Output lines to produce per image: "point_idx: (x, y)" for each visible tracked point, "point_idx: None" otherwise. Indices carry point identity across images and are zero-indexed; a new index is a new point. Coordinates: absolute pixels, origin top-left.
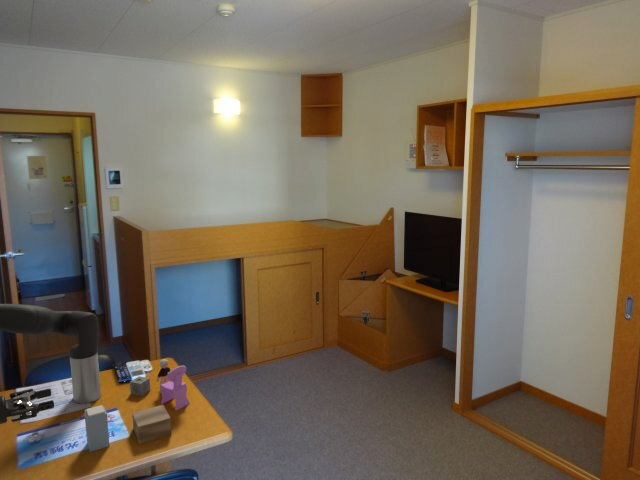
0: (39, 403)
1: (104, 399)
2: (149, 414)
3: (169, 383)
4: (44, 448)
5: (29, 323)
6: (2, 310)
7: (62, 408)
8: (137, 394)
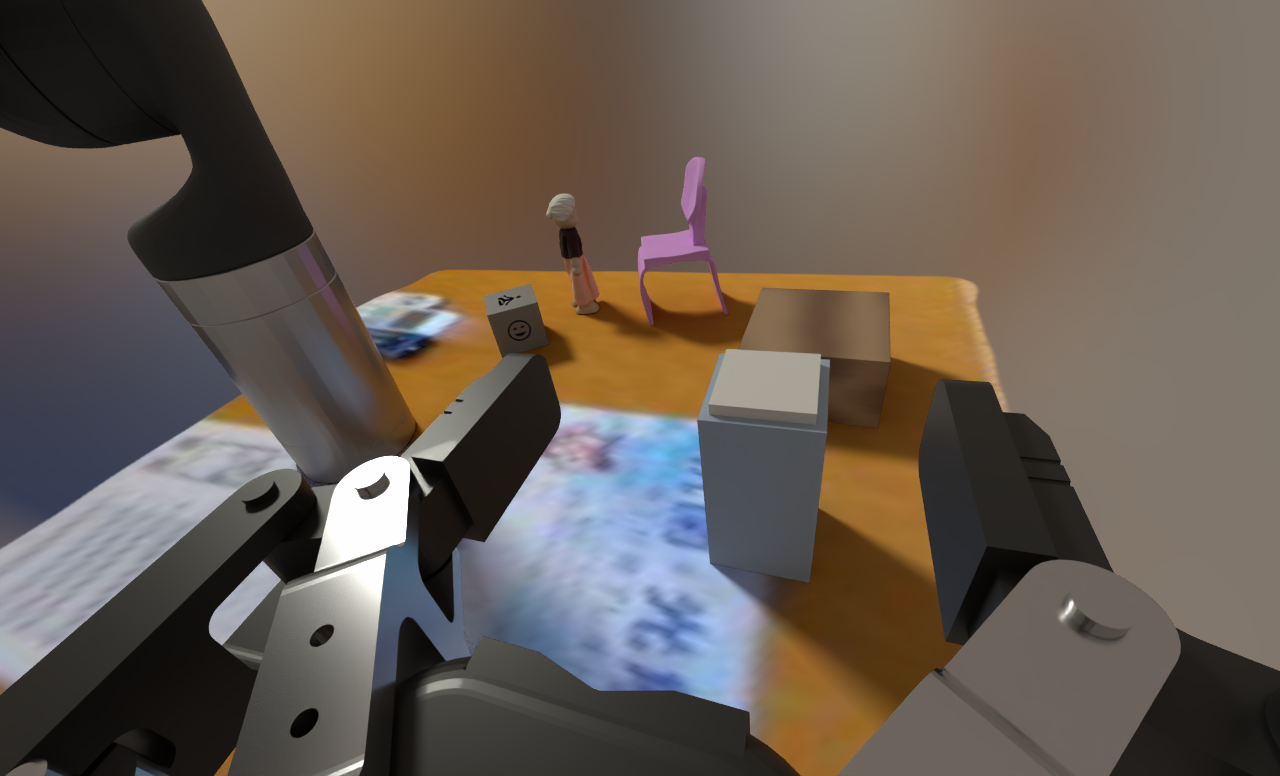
0: (1012, 536)
1: (442, 412)
2: (805, 321)
3: (656, 247)
4: None
5: None
6: None
7: None
8: (531, 346)
